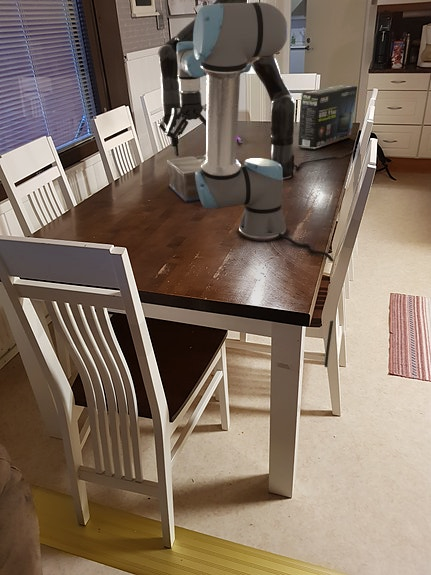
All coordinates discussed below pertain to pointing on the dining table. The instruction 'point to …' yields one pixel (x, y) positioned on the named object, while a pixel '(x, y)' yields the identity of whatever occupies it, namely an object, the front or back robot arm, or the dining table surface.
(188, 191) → the small box
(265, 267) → the dining table surface
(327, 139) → the router box
